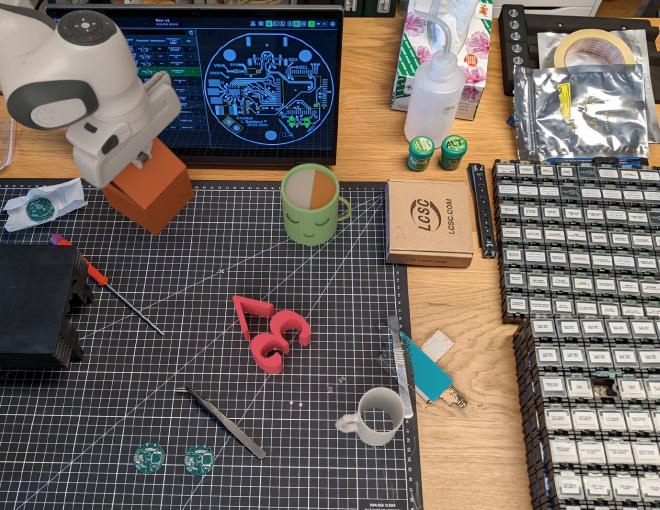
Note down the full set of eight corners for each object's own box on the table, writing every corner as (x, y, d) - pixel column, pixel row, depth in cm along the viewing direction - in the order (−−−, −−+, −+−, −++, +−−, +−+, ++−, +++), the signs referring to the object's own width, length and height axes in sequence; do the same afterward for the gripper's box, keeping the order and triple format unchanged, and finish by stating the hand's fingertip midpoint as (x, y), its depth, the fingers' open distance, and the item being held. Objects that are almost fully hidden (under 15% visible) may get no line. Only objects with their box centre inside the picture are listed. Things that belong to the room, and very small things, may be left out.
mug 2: (391, 404, 102) (399, 383, 91) (399, 445, 99) (409, 429, 88) (330, 413, 101) (332, 394, 90) (337, 455, 98) (340, 441, 87)
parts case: (110, 206, 118) (95, 180, 111) (149, 167, 123) (138, 139, 115) (156, 236, 116) (145, 211, 108) (194, 195, 120) (186, 168, 112)
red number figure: (216, 326, 108) (211, 315, 103) (258, 287, 111) (256, 275, 107) (273, 381, 103) (271, 372, 99) (315, 339, 107) (315, 329, 102)
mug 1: (279, 244, 115) (276, 210, 105) (288, 197, 120) (285, 160, 109) (347, 252, 115) (350, 219, 104) (352, 204, 120) (356, 168, 109)
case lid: (87, 158, 104) (92, 152, 100) (133, 116, 108) (139, 108, 104) (143, 210, 108) (150, 206, 104) (185, 167, 112) (193, 161, 108)
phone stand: (490, 379, 104) (493, 376, 103) (443, 428, 100) (445, 426, 99) (403, 299, 111) (404, 295, 109) (356, 343, 107) (356, 339, 105)
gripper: (150, 57, 99) (169, 114, 111) (56, 142, 91) (88, 193, 103) (180, 74, 97) (196, 130, 110) (88, 162, 89) (116, 212, 102)
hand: (143, 162), depth 106 cm, fingers closed
